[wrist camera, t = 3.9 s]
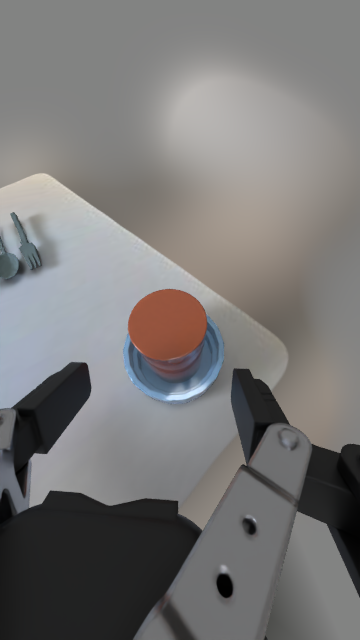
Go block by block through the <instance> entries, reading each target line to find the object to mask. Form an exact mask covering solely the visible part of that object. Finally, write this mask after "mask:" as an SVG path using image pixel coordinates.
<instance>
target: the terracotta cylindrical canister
mask: <svg viewBox="0 0 360 640" xmlns="http://www.w3.org/2000/svg"><path fill="white" fill-rule="evenodd" d="M206 331H207V316H206V313H205V310H204V308H203V306H202V305H201V304H200V302H199V301H198V300H197V299H196V298H194V297H193V296H192V295H190V294H188V293H186V292H183V291H180V290H175V289H165V290H159V291H156V292H153V293H151V294H149V295H147V296H145V297H144V298H143V299H141V300H140V301H139V302H138V303H137V304H136V306H135V307H134V309H133V310H132V312H131V314H130V317H129V322H128V332H129V336H130V339H131V341H132V343H133V345H134V346H135V348H136V349H137V350H138V352H139V353H140V354H141V356H142V357H143V358H144V360H145V361H146V362H147V364H148V365H149V366H150V368H151V369H152V370H153V372H154V373H155V374H156V375H157V377H159V378H160V379H161V380H163V381H165V382H168V383H182V382H185V381H187V380H189V379H191V378H192V377H193V376H194V375H195V374H196V373H197V371H198V370H199V368H200V365H201V361H202V355H203V349H204V343H205V337H206Z"/></svg>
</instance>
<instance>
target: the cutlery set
mask: <svg viewBox="0 0 360 640" xmlns="http://www.w3.org/2000/svg"><path fill="white" fill-rule="evenodd" d="M11 217H12V219H13V221H14V224H15V226H16V228H17V230H18V232H19V235H20V238H21V242H20V243H21V244H22V246H21V247H20V248H19V249H20V251H21V253H22V254H23V256H24V258H25V259H26V261H27V263H28V265H29V267H30V269H31V270H33V267H32V263H33V265H34V267H35V268H37V264H36V261H37V263H38V265H39V266H41V263H40V260H39V257H38V253H37V249H36V247H35V246H34V245H33V244H32V243H29V242H28V241H27V238H26V235H25V233H24V231H23V228H22V226H21V224H20V222H19V220H18V217H17V215H16V214H15V213H14V212H13V213H11ZM0 250H1V252H2V254H1V255H0V277H2V278H5V279H9V278H11V277H13V276H15V275H16V273H17V271H18V269H19V260H18V259H17V258H16V256H15V255H14V254H11V253H7V252H5V249H4V246H3V243H2V240H1V238H0ZM34 257H35V258H34ZM30 259H31V260H30ZM35 259H36V261H35ZM31 261H32V263H31Z"/></svg>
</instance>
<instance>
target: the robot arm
mask: <svg viewBox="0 0 360 640" xmlns="http://www.w3.org/2000/svg"><path fill="white" fill-rule="evenodd" d="M90 393H91V382H90V376H89V370H88V365H87V364H86V363H81V362H71V363H69V364H68V365H67V366H66V367H64V368H63V369H62V370H61V371H59V372H57V373H55V374H53V375H51V376H50V377H48V378H47V379H46V380H45V381H43V382H42V384H40V385H39V386H37V387H36V389H34V390H33V391H31V392H30V393H29V394H28V395H27V396H25V397H24V398H23V399H22V400H20V401H19V402H18V403H17V404H16V405H14V406H13V407H12V408H4V409H0V640H268V639H267V637H266V636H265V633H266V629H267V625H268V621H269V617H270V614H271V610H272V606H273V602H274V598H275V594H276V590H277V586H278V582H279V578H280V575H281V570H282V566H283V563H284V559H285V555H286V551H287V547H288V543H289V539H290V535H291V532H292V528H293V524H294V520H295V516H296V512H297V511H298V512H301V513H303V514H305V515H308V516H310V517H312V518H314V519H317V520H319V521H321V522H324V523H326V524H327V526H328V528H329V530H330V532H331V534H332V537H333V539H334V541H335V543H336V545H337V548H338V550H339V552H340V555H341V557H342V559H343V561H344V563H345V566H346V568H347V570H348V572H349V574H350V577H351V579H352V581H353V584H354V586H355V588H356V590H357V592H358V594H359V597H360V445H356V444H347V445H345V446H344V447H343V448H342V449H341V453H337V452H334V451H331V450H328V449H325V448H321V447H318V446H315V445H313V444H311V443H310V441H309V439H308V438H307V436H306V435H305V434H304V433H302V432H301V431H300V430H298V429H297V428H295V427H293V426H291V425H290V424H289V422H288V420H287V419H286V417H285V415H284V413H283V412H282V410H281V408H280V407H279V405H278V403H277V401H276V399H275V398H274V396H273V395H272V392H271V390H270V389H269V387H268V385H266V384H265V383H264V382H263V381H262V380H260V379H254V378H253V376H252V374H251V372H250V370H249V369H235V368H234V370H233V378H232V389H231V403H232V408H233V412H234V416H235V420H236V424H237V428H238V432H239V436H240V440H241V444H242V448H243V451H244V456H245V460H246V464H247V466H245V465H244V464H243V465H241V467H240V468H239V469H238V471H237V473H236V474H235V476H234V478H233V480H232V482H231V483H230V485H229V487H228V488H227V490H226V492H225V493H224V495H223V497H222V499H221V500H220V502H219V504H218V505H217V507H216V509H215V511H214V513H213V514H212V516H211V518H210V519H209V521H208V523H207V524H206V526H205V528H204V530H203V531H202V530H201V529H200V528H199V527H198V526H197V525H196V524H195V523H193V522H192V521H191V520H189V519H187V518H186V517H184V516H182V515H180V514H178V501H172V500H160V499H147V498H145V499H140V500H136V501H131V502H127V503H122V504H118V505H113V506H108V505H105V504H103V503H101V502H99V501H97V500H94V499H92V498H90V497H88V496H86V495H84V494H82V493H74V492H62V491H50V492H49V493H48V495H47V497H46V498H45V500H44V501H43V503H42V504H40V505H37V506H34V507H31V508H29V500H30V483H31V466H32V463H31V459H30V458H31V457H32V456H33V454H34V453H39V454H47V453H48V452H49V450H50V449H51V448H52V446H53V445H54V444H55V442H56V441H57V440H58V438H59V437H60V436H61V434H62V433H63V432H64V430H65V429H66V428H67V426H68V425H69V424H70V422H71V421H72V420H73V418H74V417H75V416H76V414H77V413H78V412H79V410H80V409H81V408H82V406H83V405H84V404H85V402H86V401H87V400H88V398H89V396H90Z"/></svg>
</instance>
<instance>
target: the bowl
mask: <svg viewBox="0 0 360 640" xmlns="http://www.w3.org/2000/svg"><path fill="white" fill-rule="evenodd" d="M206 316H207V331H206V337H205V343H204V349H203V355H202V361H201V365H200V368H199V370H198V371H197V373H196V374H195V375H194V376H193V377H192V378H191V379H189V380H187V381H185V382H182V383H168V382H165V381H163V380H161V379H160V378H159V377H157V375H156V374H155V373H154V372H153V370H152V369H151V368H150V366H149V365H148V364H147V362H146V361H145V360H144V358H143V357H142V356H141V354H140V353H139V352H138V350H137V349H136V348H135V346H134V345H133V343H132V341H131V339H130V336H129V333H128V335H127V338H126V342H125V345H124V349H123V354H124V364H125V369H126V371H127V373H128V374H129V376H130V378H131V380H132V382H133V384H135V385H136V386H137V387H138V388H139V389H141V390H142V391H143V392H144V393H145V394H146V395H148V396H150V397H151V398H153V399H155V400H158V401H161V402H164V403H167V404H181V403H188V402H190V401H192V400H194V399H196V398H198V397H201V396H202V395H203V394H204V393H205V392H206V391H207V390H208V389H209V388H210V387H211V386H212V385H213V383H214V381H215V380H216V378H217V376H218V373H219V371H220V369H221V366H222V364H223V361H224V342H223V339H222V336H221V334H220V331H219V328H218V327H217V326H216V324H215V323H214V322H213V321H212V320H211V318H210V317H209V316H208V315H206Z"/></svg>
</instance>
